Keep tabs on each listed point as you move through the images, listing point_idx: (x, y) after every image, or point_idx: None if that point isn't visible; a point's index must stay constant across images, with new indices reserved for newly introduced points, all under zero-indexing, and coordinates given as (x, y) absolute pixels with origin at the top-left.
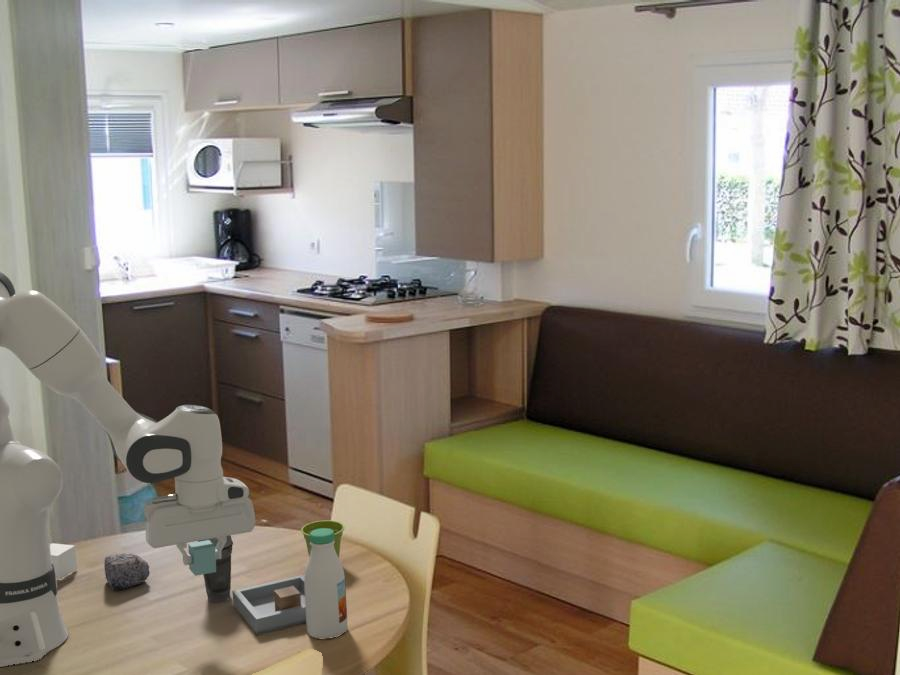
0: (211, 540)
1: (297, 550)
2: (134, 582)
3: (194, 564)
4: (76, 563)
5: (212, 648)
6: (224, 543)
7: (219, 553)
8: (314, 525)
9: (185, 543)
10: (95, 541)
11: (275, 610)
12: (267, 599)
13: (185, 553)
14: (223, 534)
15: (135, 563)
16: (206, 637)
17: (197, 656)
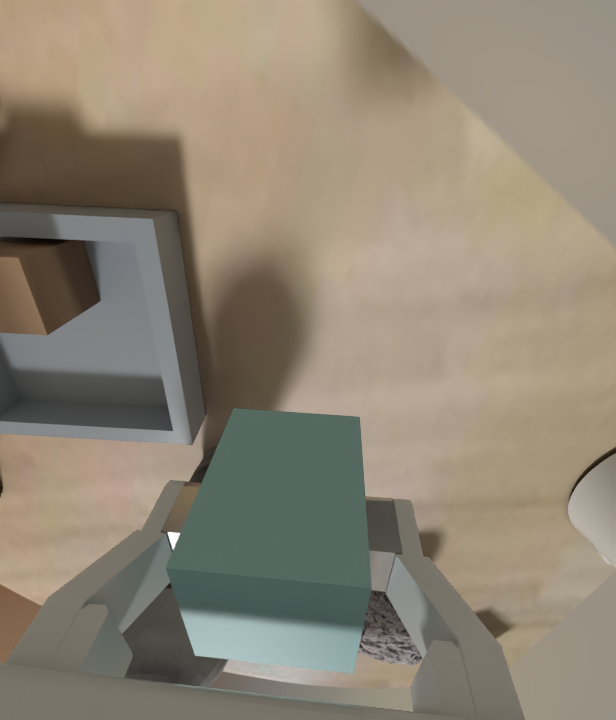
0: (185, 637)
1: (34, 551)
2: None
3: (362, 477)
4: (422, 658)
5: (332, 202)
6: (81, 580)
7: (165, 511)
8: None
9: (452, 705)
10: (354, 685)
11: (92, 303)
12: (114, 393)
13: (428, 584)
14: (2, 700)
15: (365, 624)
16: (322, 288)
17: (395, 172)
